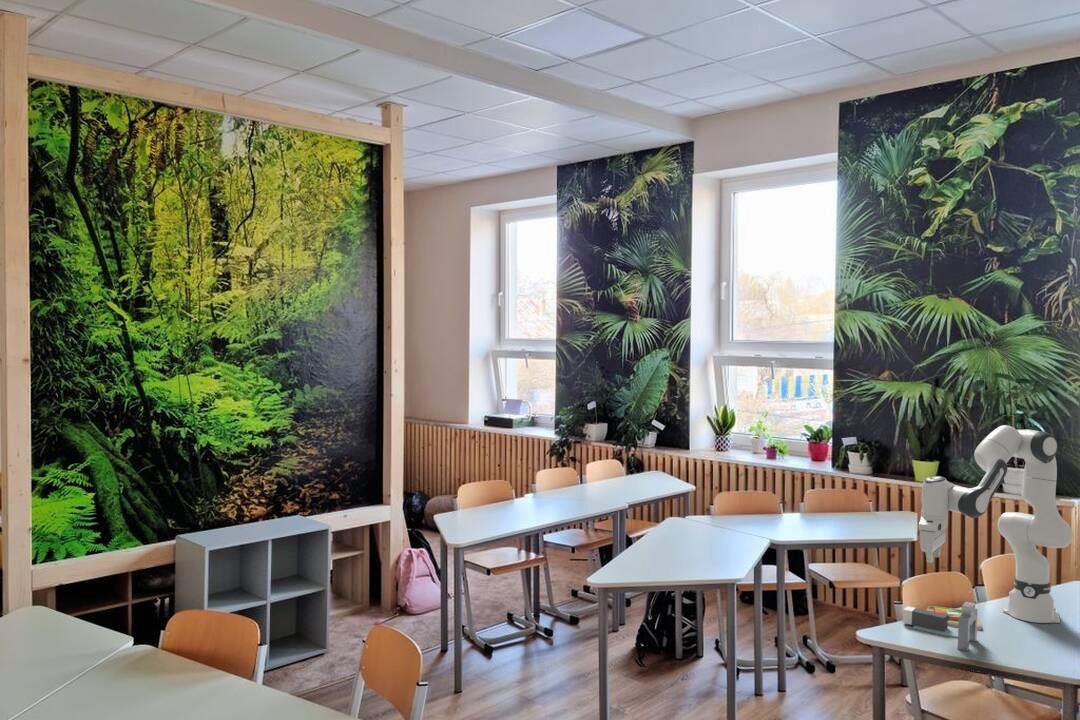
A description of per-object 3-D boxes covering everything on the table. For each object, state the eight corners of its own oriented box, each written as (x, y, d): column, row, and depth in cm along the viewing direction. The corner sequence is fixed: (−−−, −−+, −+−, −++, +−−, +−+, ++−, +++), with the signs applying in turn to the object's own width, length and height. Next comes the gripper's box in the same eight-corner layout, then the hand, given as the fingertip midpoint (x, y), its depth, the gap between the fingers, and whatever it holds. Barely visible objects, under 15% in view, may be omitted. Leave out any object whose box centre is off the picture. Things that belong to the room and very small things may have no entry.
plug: (906, 619, 316) (907, 606, 315) (947, 628, 307) (947, 614, 307) (902, 622, 312) (903, 609, 312) (944, 631, 303) (944, 617, 303)
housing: (967, 638, 299) (968, 598, 298) (976, 640, 297) (977, 600, 296) (957, 649, 288) (958, 608, 287) (967, 651, 286) (968, 610, 286)
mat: (919, 622, 315) (919, 620, 315) (972, 633, 304) (972, 631, 304) (912, 628, 308) (912, 626, 308) (967, 640, 297) (967, 638, 296)
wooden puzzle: (976, 616, 324) (976, 607, 324) (982, 632, 306) (982, 623, 306) (926, 610, 330) (926, 601, 330) (929, 625, 313) (929, 616, 312)
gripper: (932, 515, 317) (931, 552, 317) (917, 525, 301) (916, 563, 301) (950, 518, 313) (949, 555, 313) (936, 528, 297) (935, 567, 298)
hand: (933, 559), depth 307 cm, fingers open, 8 cm apart
